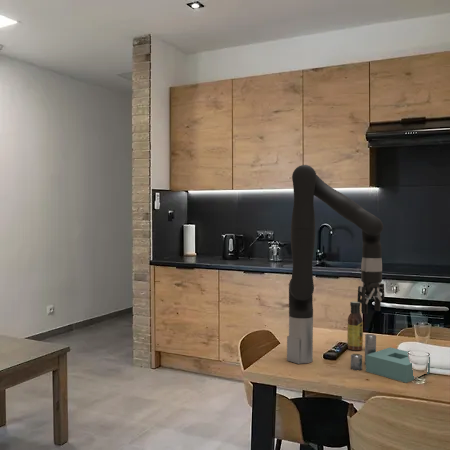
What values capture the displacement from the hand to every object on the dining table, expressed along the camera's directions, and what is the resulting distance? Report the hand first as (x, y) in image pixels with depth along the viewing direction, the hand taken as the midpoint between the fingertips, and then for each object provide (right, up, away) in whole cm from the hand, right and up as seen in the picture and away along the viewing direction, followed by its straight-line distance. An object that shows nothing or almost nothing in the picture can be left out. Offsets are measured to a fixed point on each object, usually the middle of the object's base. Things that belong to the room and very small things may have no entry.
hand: (371, 312), depth 193 cm
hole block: (+7, -20, -9) cm, 23 cm away
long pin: (0, -20, +1) cm, 20 cm away
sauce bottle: (-1, -19, +21) cm, 29 cm away
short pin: (-7, -20, -5) cm, 22 cm away
